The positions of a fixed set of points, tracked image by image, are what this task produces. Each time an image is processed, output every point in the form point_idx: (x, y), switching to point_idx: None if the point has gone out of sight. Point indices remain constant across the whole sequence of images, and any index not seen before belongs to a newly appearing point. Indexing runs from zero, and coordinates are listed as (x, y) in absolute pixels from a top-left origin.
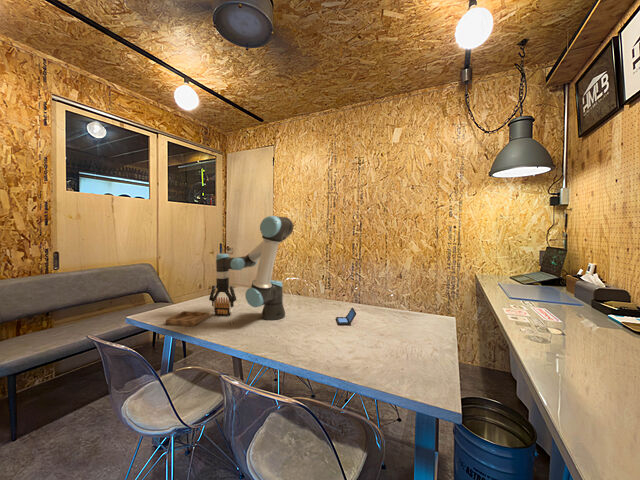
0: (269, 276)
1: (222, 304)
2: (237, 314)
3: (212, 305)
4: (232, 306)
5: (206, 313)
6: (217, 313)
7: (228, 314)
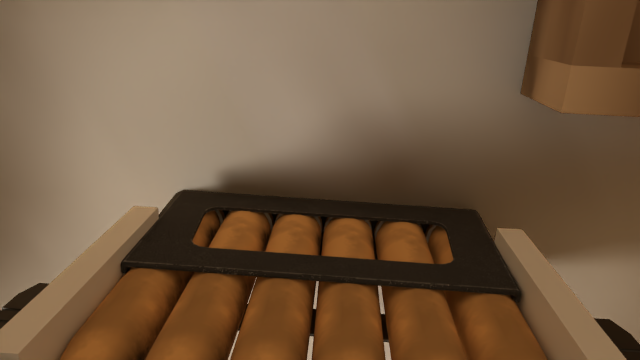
0: None
1: (315, 352)
2: None
3: (616, 331)
4: (20, 293)
5: (626, 34)
6: (431, 235)
7: (197, 203)
